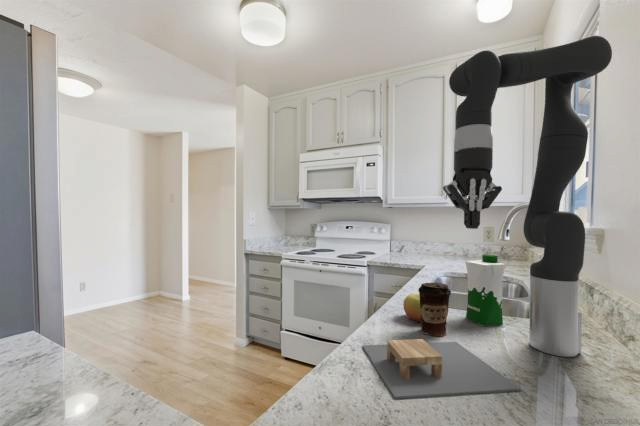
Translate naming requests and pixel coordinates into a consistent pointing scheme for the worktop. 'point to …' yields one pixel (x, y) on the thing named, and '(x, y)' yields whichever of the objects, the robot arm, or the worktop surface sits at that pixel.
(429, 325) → the coffee cup
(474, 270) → the milk carton
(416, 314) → the apple
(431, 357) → the wooden bench
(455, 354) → the mat
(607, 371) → the worktop surface
